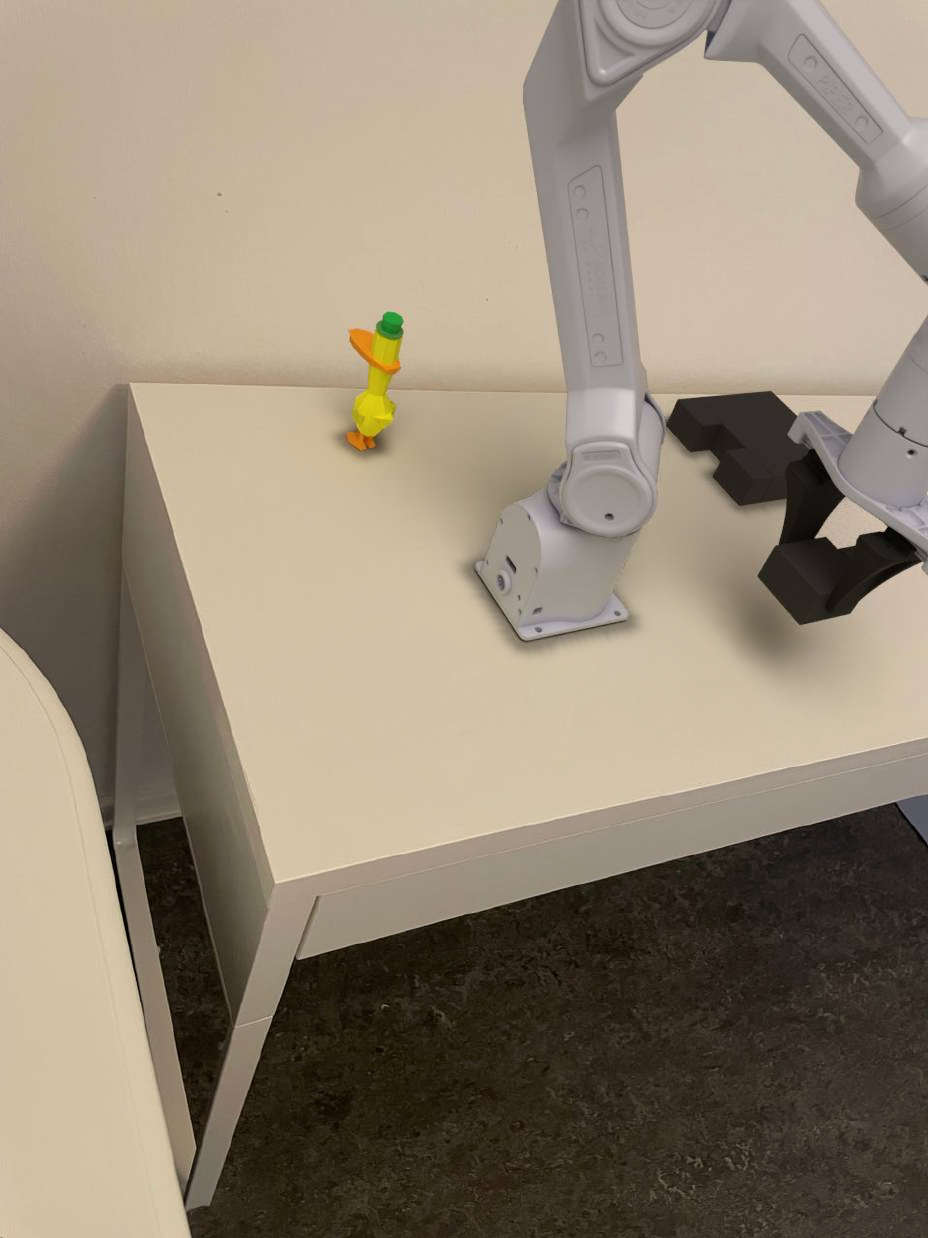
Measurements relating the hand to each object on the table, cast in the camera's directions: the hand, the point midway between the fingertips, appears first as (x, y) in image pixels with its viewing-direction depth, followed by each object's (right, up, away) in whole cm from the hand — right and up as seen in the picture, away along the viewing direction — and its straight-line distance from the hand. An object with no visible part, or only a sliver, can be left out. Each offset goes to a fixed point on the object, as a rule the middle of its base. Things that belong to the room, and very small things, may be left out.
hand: (812, 581), depth 72 cm
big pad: (+3, +13, +26) cm, 29 cm away
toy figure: (-33, +12, +13) cm, 37 cm away
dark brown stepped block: (0, -1, +1) cm, 1 cm away
